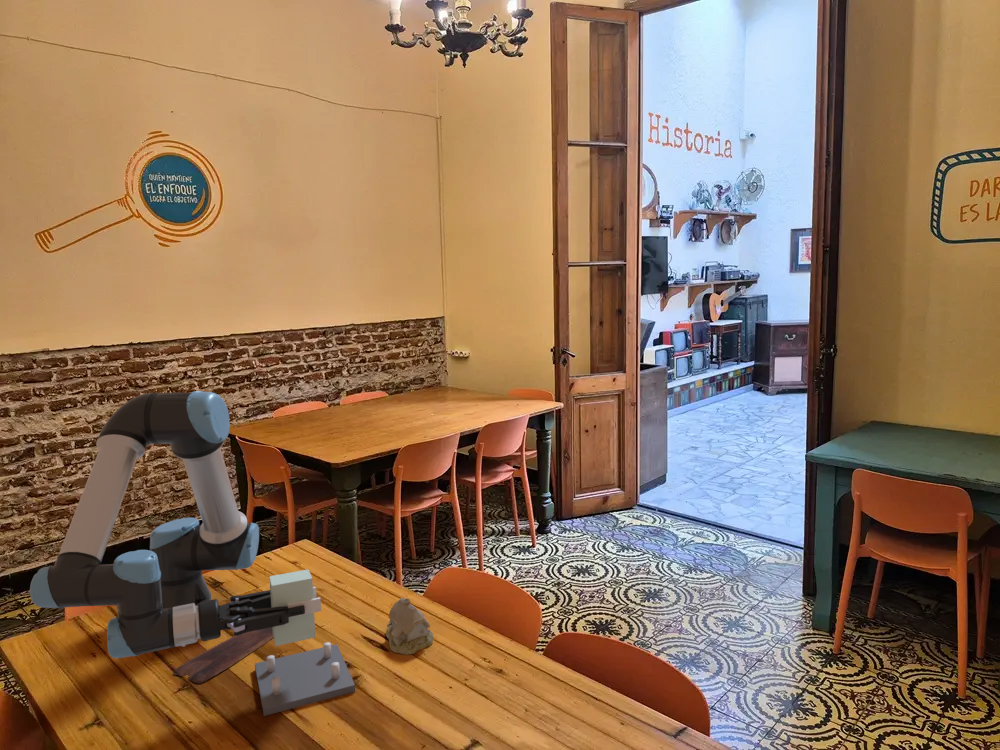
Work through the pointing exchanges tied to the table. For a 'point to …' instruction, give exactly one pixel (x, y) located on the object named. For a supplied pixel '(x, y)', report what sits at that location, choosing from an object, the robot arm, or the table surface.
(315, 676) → the peg plinth
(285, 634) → the mint board
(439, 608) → the table surface
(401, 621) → the ceramic model
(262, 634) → the wooden tablet
